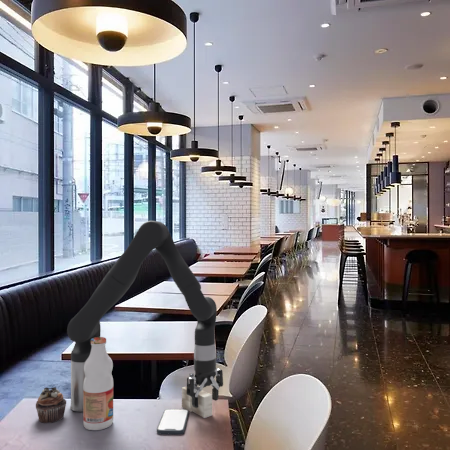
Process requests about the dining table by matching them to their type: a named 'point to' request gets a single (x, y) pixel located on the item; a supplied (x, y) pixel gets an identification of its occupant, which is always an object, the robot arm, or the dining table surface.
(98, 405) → the fruit juice
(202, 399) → the open-ended tube with peg
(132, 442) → the dining table surface
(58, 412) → the cupcake
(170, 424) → the smartphone
